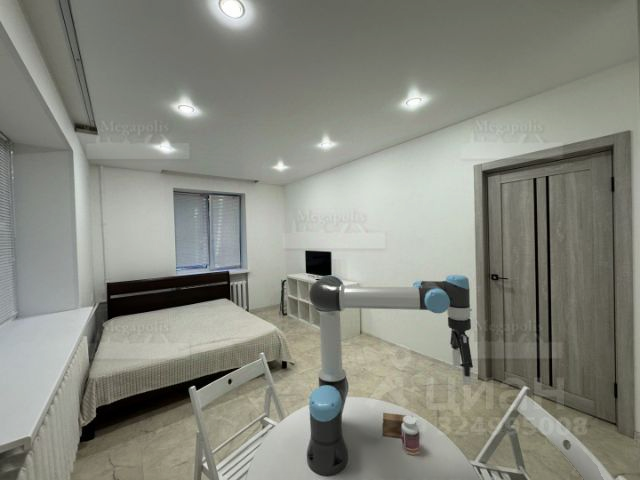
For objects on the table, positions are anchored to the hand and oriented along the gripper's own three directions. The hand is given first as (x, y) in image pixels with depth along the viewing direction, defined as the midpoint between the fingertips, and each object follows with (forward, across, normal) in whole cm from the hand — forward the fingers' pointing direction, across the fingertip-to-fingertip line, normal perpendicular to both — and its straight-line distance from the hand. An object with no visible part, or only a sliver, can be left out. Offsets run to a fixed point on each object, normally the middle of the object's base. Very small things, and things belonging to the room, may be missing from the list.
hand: (461, 374), depth 98 cm
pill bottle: (+28, -3, +19) cm, 34 cm away
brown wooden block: (+28, +5, +23) cm, 37 cm away
